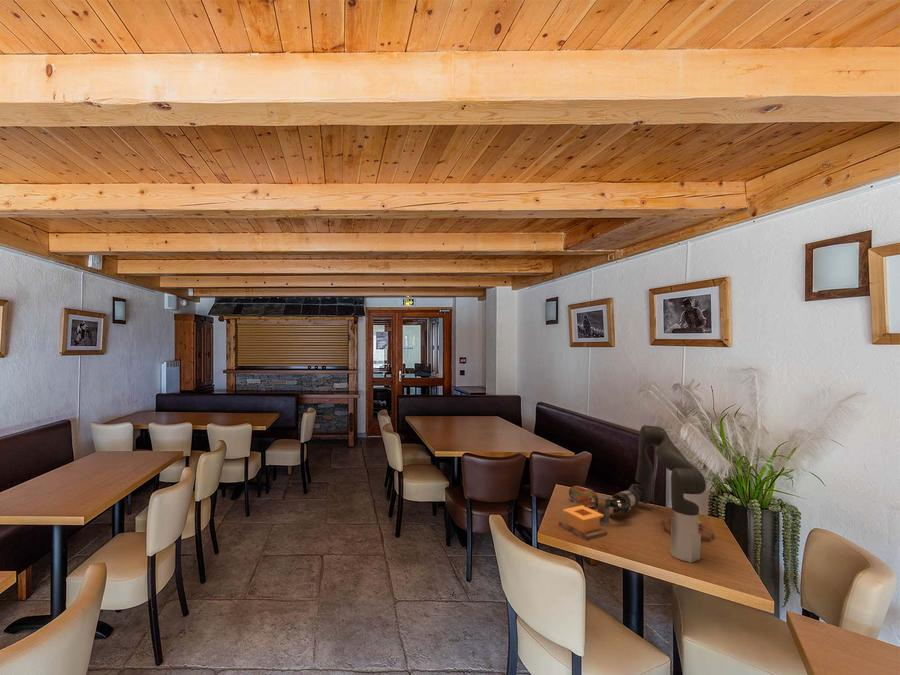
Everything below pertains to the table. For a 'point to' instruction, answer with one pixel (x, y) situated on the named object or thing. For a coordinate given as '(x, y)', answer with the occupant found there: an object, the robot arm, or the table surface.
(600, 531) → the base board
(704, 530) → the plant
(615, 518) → the table surface
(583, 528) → the orange square collar
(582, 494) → the tin
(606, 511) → the dark grey rectangular block
